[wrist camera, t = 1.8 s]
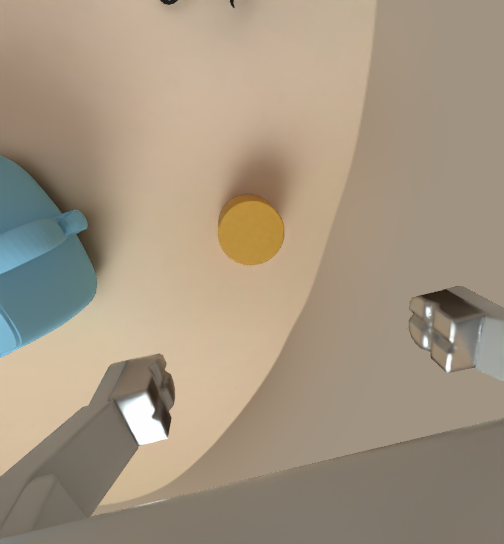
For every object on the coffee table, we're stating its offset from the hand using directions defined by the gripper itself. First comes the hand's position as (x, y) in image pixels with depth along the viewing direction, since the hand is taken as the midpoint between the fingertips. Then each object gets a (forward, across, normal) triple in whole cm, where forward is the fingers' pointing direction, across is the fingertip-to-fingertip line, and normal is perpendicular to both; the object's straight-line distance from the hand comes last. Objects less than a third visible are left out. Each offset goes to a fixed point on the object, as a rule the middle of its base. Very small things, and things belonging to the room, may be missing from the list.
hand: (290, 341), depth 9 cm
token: (+16, 0, 0) cm, 16 cm away
